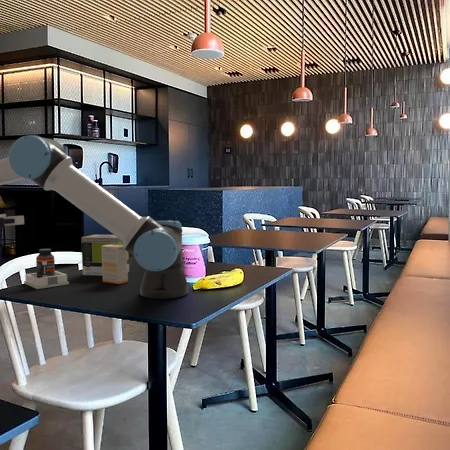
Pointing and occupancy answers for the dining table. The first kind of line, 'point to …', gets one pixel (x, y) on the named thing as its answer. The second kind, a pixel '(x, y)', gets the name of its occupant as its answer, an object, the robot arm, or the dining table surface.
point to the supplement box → (114, 264)
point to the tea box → (96, 252)
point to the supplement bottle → (45, 263)
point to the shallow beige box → (46, 280)
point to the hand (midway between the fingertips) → (14, 218)
